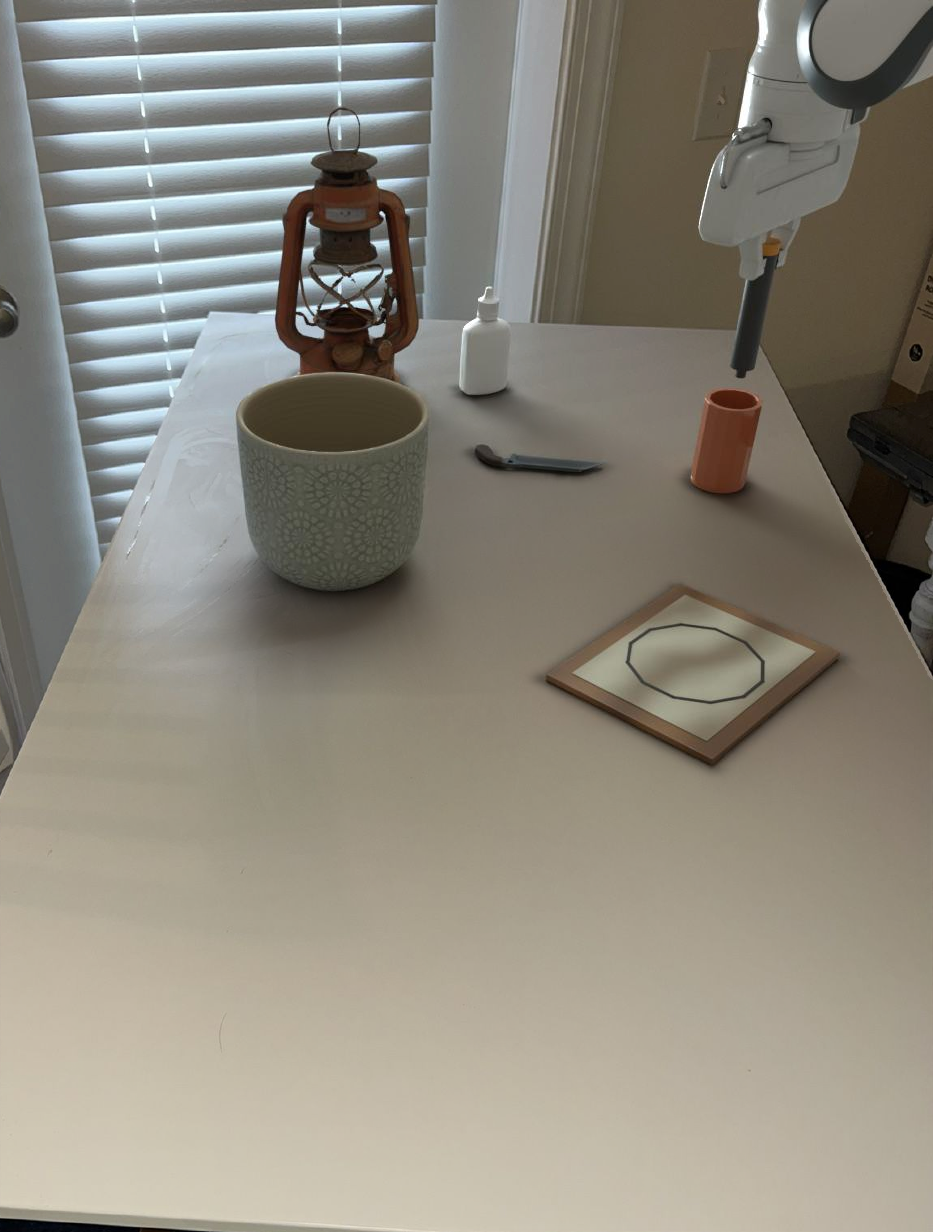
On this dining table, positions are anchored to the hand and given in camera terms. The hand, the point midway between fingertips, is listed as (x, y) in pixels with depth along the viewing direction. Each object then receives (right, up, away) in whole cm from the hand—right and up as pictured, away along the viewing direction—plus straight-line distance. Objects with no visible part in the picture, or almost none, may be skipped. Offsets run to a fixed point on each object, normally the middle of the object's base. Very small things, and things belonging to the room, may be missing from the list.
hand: (761, 272), depth 117 cm
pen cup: (0, -16, +14) cm, 22 cm away
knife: (-19, -14, +17) cm, 29 cm away
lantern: (-39, 0, +34) cm, 52 cm away
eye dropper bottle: (-23, -1, +32) cm, 40 cm away
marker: (0, -8, +7) cm, 10 cm away
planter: (-40, -27, +1) cm, 49 cm away
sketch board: (-10, -38, -12) cm, 41 cm away
